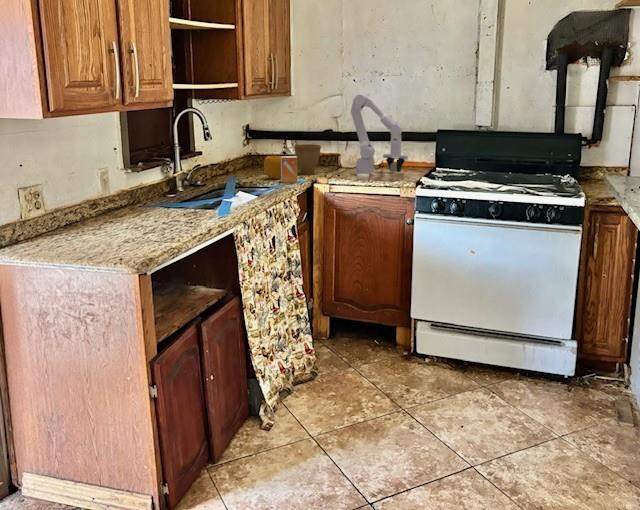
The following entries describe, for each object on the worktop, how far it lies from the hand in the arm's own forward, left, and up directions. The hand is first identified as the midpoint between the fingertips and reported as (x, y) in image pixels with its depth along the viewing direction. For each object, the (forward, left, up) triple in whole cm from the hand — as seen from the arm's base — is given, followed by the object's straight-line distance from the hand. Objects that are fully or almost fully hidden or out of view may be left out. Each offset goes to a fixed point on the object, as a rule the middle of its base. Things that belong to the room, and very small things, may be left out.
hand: (395, 171), depth 349 cm
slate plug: (0, 0, -2) cm, 2 cm away
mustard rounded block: (-48, -46, -2) cm, 66 cm away
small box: (-35, -50, -2) cm, 61 cm away
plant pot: (-45, -20, -2) cm, 49 cm away
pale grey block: (-7, -22, -2) cm, 23 cm away
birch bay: (+3, -15, -2) cm, 15 cm away
